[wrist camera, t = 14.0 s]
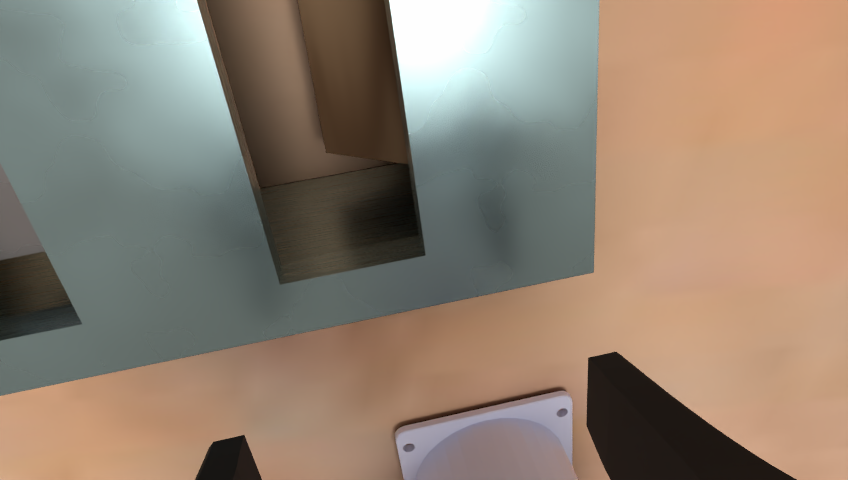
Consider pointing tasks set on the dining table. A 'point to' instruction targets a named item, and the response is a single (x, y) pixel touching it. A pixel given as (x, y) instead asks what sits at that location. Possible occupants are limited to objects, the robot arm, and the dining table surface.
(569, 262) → the toaster
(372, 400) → the dining table surface
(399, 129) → the block
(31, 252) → the grey tall block
